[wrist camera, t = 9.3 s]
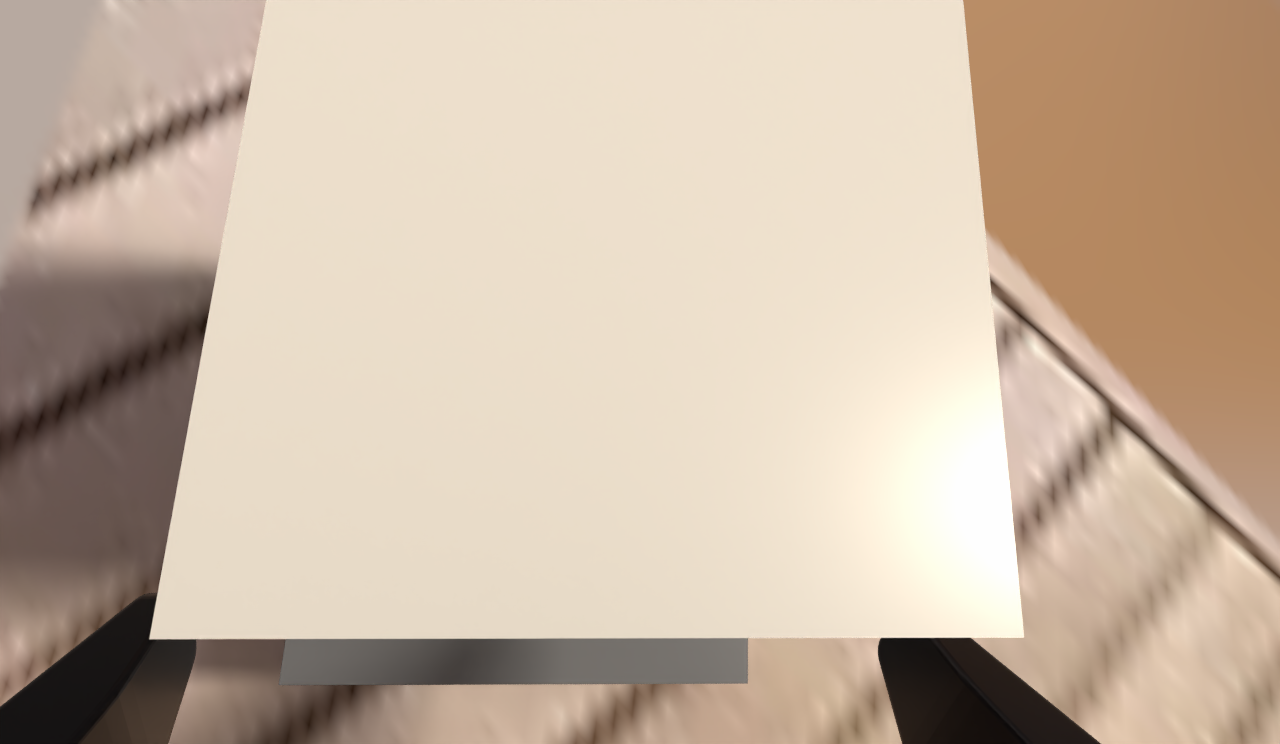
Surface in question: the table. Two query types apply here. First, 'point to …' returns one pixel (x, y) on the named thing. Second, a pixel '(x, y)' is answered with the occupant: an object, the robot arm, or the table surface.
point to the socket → (515, 661)
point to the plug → (599, 331)
